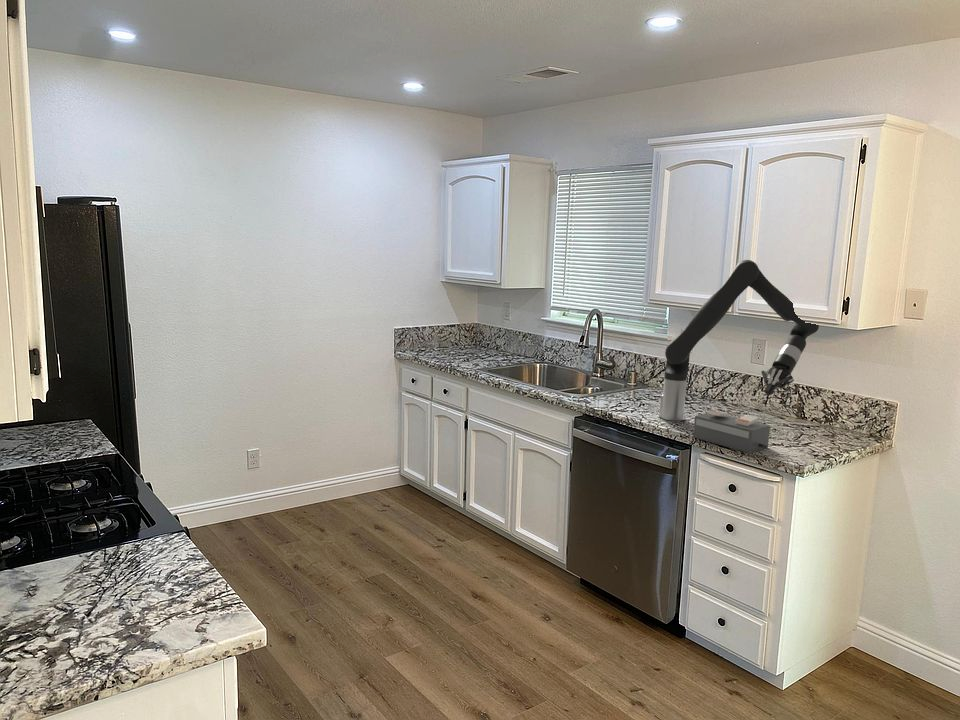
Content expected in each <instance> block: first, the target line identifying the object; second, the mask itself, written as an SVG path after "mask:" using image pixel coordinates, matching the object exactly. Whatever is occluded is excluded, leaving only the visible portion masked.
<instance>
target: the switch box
mask: <svg viewBox="0 0 960 720" xmlns="http://www.w3.org/2000/svg"><path fill="white" fill-rule="evenodd" d="M738 418H739V417H736V416H732V415H729V417H727V416H717V415H713V414H709V413H707V412H706V413H702V414H697V415H695V416H694V425H693V436H692V437H693V438H695V439H699V440H700V441H701V440H702V441H706V442H708V443H712V444H716V445H719V446H723V447H727V448H731V449H734V450H738V451H742V452H744V453H749V454H751V453H752V454H753V453H755V452H759V451H762V450H767V449H768V447H769V441H770V431H771V425H769V424H766V423H761V422H758V421H756V422H754V423H753V424H751V425H749V426H745V425H741V424H737V423H735V420H737V419H738Z"/></svg>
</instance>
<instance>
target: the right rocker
mask: <svg viewBox="0 0 960 720" xmlns="http://www.w3.org/2000/svg"><path fill="white" fill-rule="evenodd" d="M737 418H738V419H737V420H735V423H737V424H741V425H745V426H749V425H751V424H753V423H754V422H758V421H759V417H758V416H754V415H749V414H744V415H742V416H741V417H737Z"/></svg>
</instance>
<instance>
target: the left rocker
mask: <svg viewBox="0 0 960 720" xmlns="http://www.w3.org/2000/svg"><path fill="white" fill-rule="evenodd" d="M706 413H709V414H713V415H717V416H727V417H729V416H730V413H729V412H725V411H720V410H712V409H708V410H707V412H706Z"/></svg>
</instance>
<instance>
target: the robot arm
mask: <svg viewBox="0 0 960 720" xmlns="http://www.w3.org/2000/svg"><path fill="white" fill-rule="evenodd" d="M748 287H750V288H751V289H752V290H754V291H755V292H756V293H757V294H758V295H759V297H761V298H762V299H763V300H764V302H766V304H767V305H768V307H770V308H771V309H772V311H774V312H775V313H776V315H778V316H779V317H780V318H781V319H782V320H783V321H784V322H791V321H792V322H793V323H794V324H793V325H792V327H791V328H790V331H789V334H788V337H787V340H786V341H785V343H784V345H783V346H782V348H781V349H780V351H779V352H778V353H777V355H776V357H775V358H774V360H773V362H772V365H771V366H770V367H769V368H768V370H766V371H765V370H761V372H760V373H761V375H762V378H763V381H764V384H765V385H766V386H765V388H764V393H765V396H766V395H767V396H771V395H773V393H774V392H775V390H776V389H778V388H779V389H782V388H783V387H786V386H788V385H790V384H791V383H793V382H794V381H795V379H794V377H793V375H792V373H793V371H794V369H795V368H796V366H797V364H798V362H799V360H800V359H801V355H802V353H803V352H804V350H805V348H806V346H807V341H806V339H807V338H808V337H809V336H811V335H813V334H815V333H817V331H819V328H820V325H816V324H811V323H805V321H803V320H801V319H800V318H798V316H797V315H796V314H795V312H794V308H793V303H794V302H793V303H792V302H791V301H790V299H789V297H788V296H786V295H785V294H784V293H783V292H782V291H781V290H779V289H778V288H777V287H776V286H775V285H773V283H772V282H771V281H769V279H767V277H766V276H765V275H764V273H763V272H762V271H761V269H760V268H759V266H758V265H757V263H756V262H754V261H753V260H751V259H744V260H743V259H742V260H740V261H739V262H737V264H736V265H735V267H734V270H733V272H732V273H731V274H730V276H729V277H728V278H727V280H726V281H725V282H724V284H723V285H722V286H721V287H720V288H719V289H718V290H717V291H715V292H714V293H713V294H712V295H711V296H710V297H709V298H708V299H707V300H706V301H705V302H703V305H702V306H701V307H700V308H699V309H698V310H697V311H696V313H695V314H694V316H693V317H692V318H691V320H690V321H689V322H688V324H687V326H686V327H685V329H684V330H683V331H682V332H681V333H680V334H679V335H678V336H677V337H676V338H675V339H674V340H673V341H671V342H670V343H669V344H668V345H667V346H666V348H665V351H664V352H665V353H664V354H665V358H666V359H665V360H666V364H665V370H664V379H663V391H662V394H660V403H659V418H662V419H663V420H665V421H673V422H679V421H684V417H685V403H686V394H687V393H686V392H687V383H688V382H687V381H688V373H689V367H690V366H689V365H690V353H691V352H692V351H693V349H694V348H695V346H697V344H698V343H699V342H700V340H702V339H703V338H704V337H705V336H706V335H707V334H709V333H710V332H711V331H712V330H713V329H714V328H715V327H716V326H717V325H718V324H719V322H720V321H721V320H722V319H723V318H724V317H725V315H726V314H727V312H728V311H730V308H731V307H732V306H733V304H734V303H735V302H736V300H737V299H738V297H739V296H740V295H741V294H742V293H743V292H744V291H745V290H746V289H747V288H748ZM768 377H769V378H768Z"/></svg>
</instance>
